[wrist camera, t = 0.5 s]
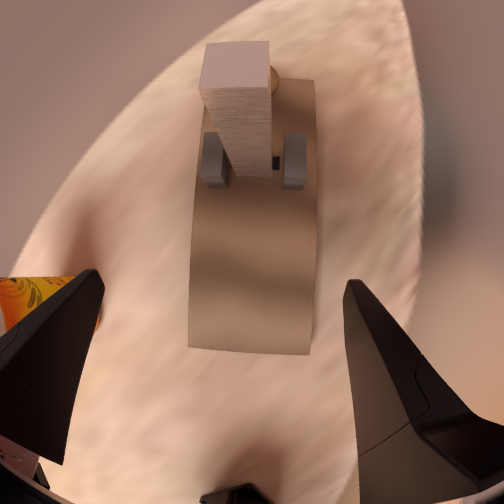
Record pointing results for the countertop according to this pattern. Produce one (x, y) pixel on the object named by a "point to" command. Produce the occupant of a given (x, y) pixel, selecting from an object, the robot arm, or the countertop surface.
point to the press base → (257, 237)
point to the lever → (241, 104)
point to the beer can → (26, 297)
